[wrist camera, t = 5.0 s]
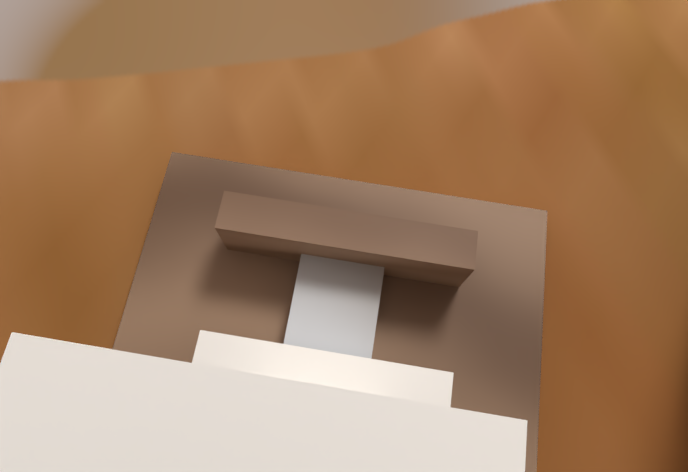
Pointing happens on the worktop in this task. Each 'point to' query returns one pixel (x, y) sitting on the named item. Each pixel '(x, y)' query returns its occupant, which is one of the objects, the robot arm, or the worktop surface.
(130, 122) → the worktop surface
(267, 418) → the slider
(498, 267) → the rail board
